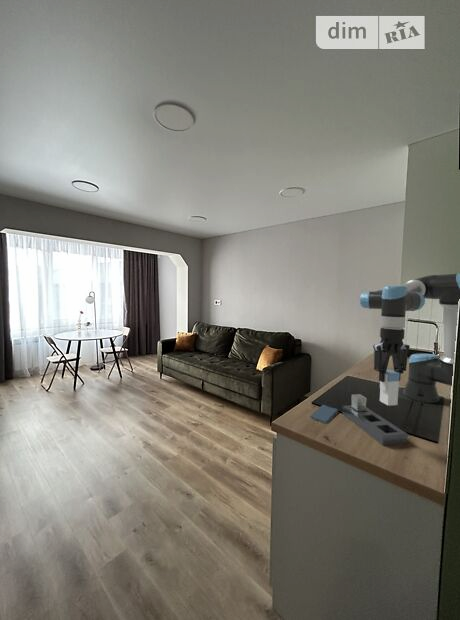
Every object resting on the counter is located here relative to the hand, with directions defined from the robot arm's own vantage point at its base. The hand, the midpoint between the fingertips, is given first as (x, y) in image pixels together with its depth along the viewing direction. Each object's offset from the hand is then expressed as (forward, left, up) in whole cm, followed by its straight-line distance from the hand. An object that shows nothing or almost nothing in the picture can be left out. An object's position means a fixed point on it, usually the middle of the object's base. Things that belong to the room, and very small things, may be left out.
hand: (389, 389), depth 93 cm
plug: (0, 0, -5) cm, 5 cm away
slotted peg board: (0, -8, -19) cm, 20 cm away
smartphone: (+14, -20, -20) cm, 31 cm away
